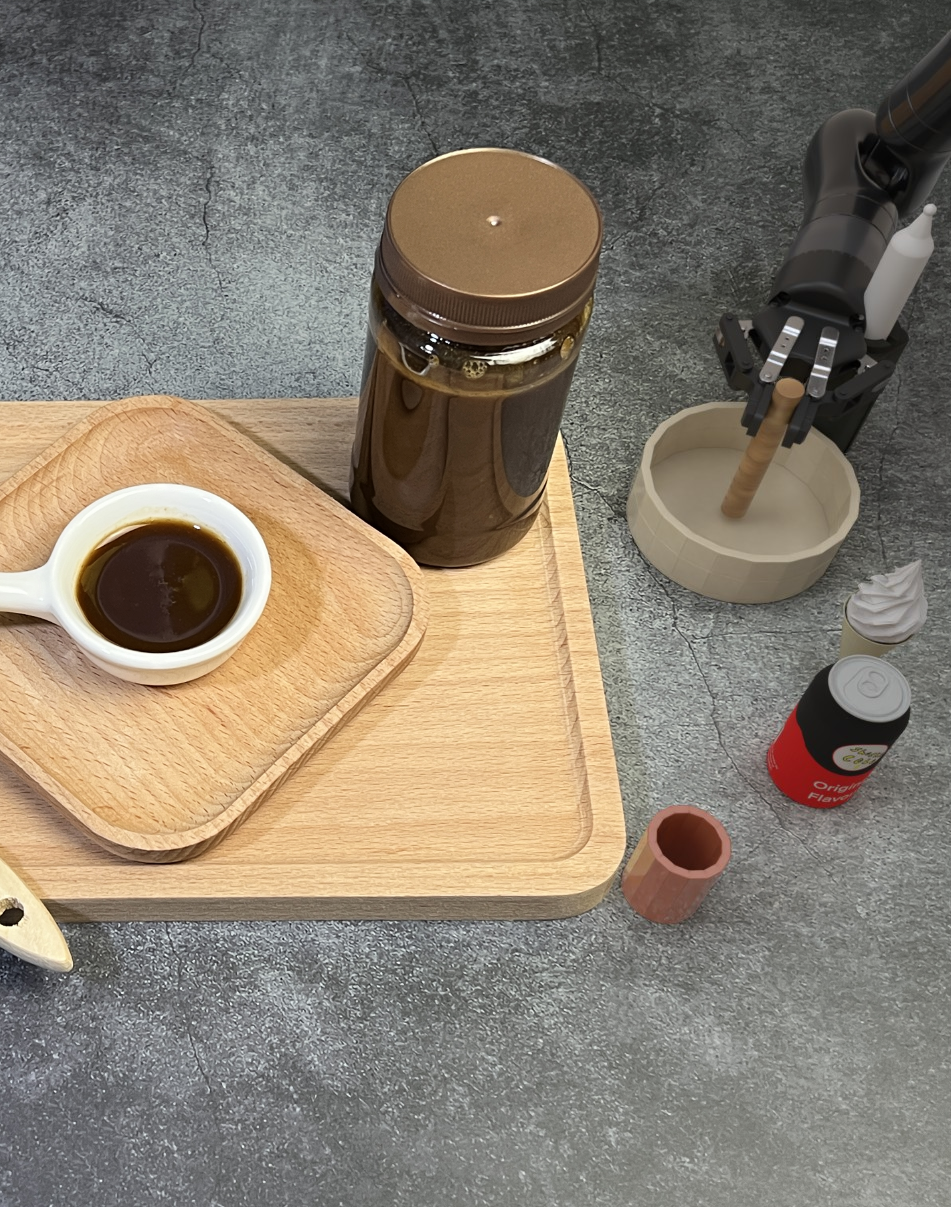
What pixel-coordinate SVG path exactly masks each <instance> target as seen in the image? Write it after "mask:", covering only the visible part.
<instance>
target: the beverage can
mask: <svg viewBox="0 0 951 1207" xmlns="http://www.w3.org/2000/svg"><path fill="white" fill-rule="evenodd" d="M911 703H912V689H911V686H910V684H909V682H908V680H907V678H906V677H905V676H904V674H903V673H902V672H901V671H900V670H899V669H898V668H897V667H896V666H894V665H893V664H891V663H889V662H888V661H886V660H884V659H882V658H880V657H878V658H877V657H873V656H869V655H851V656H847V657H845V658H842V659H841V660H839V661H838V660H837V662H833V663H831V664H828V665H827V666H825V667H823V668H822V669H820V670H819V671H818V672H817V673H816V674H815V675H814V677H813V679H812V681H811V682H810V683H809V685H808V687H807V688H806V690H805V691H804V692H803V693H802V696H801V697H800V699H799V700H798V702H797V703H796V705H795V706H794V708H793V710H792V711H791V713H790V714H789V716H788V717H787V719H785V720H786V721H785V722H784V724H783V725H782V727H781V728H780V730H779V731H778V733H777V734H776V736H775V737H774V739H773V741H772V742H771V743H770V745H769V747H768V750H767V754H766V766H767V771H768V773H769V776H770V778H771V780H772V782H773V783H774V784H775V785H776V787H777V788H778V790H780V791H781V792H782V793H783V794H784V795H786V796H787V797H788V798H790V799H791V800H793V801H795V802H797V803H799V804H802V805H804V806H807V807H812V808H818V809H828V808H834V807H838V806H840V805H843V804H844V803H846V802H848V801H849V800H850V799H852V797H853V796H854V795H855V794H856V792H857V791H858V790H859V789H860V788H861V786H862V785H863V784H864V782H865V781H866V780H867V779H868V777H869V776H870V775H871V773H872V772H873V771H874V770H875V768H877V766H878V764H879V763H880V762H881V761H882V759H883V758H884V757H885V756H886V754H887V753H888V752H889V751H890V749H891V748H892V747H893V745H894V744H895V742H896V741H897V740H898V739H899V738H900V737H901V735H902V734H903V733H904V732H905V730H906V729H907V727H908V726H909V722H910V718H911Z"/></svg>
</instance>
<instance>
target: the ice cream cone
mask: <svg viewBox="0 0 951 1207" xmlns="http://www.w3.org/2000/svg"><path fill="white" fill-rule="evenodd" d="M922 562H923V559H922V558H919V559H917V560H915V561H913V562H911V563H908V564H906V565H905V566H902V567H895V568H894V569H893V570H894V572H892V573H890V572H889V573H884V575H882V574H874V575H872V576H870V579H871V581H872V584H871V583H866V582H861V583H858V585H857V586H858V589H856V590H854V591H853V592H851V593H850V594H849V595H848V596H846V598H845V600H844V602H843V605H842V606H843V607H842V613H843V614H842V615H843V620H842V627H841V634H840V642H839V643H840V644H839V652H838V653H839V654H838V660H837V662H838V661H839V660H841V659H842V658H845V657H847V656H851V655H869V656H873V657H877V658H880V657H881V656H883V655H885V654H886V653H887V654H888V653H889V652H891V651H892V650H893V649H895V648H896V647H898V646H901V645H904V644H906V643H908V642H910V641H911V640H912V639H913V638H914V637H915V636H916V634H918V633H920V631H921V628H922V627H923V626H924V624H926V620H927V615H928V614H927V613H928V608H929V602H928V601H927V599H926V597H925V592H926V591H925V587H924V586H925V585H924V583H925V581H924V578H923V577H922V576H923V575H922V573H923V572H922Z"/></svg>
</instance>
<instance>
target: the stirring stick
mask: <svg viewBox="0 0 951 1207" xmlns="http://www.w3.org/2000/svg"><path fill="white" fill-rule="evenodd" d="M774 386H775V388H774V390H773V393H772V398H771V401H770V403H769V406H768V409H767V411H766V414H765V417H764V419H763V421H762V424H761V426H760V428H759V430H758V432H757V435H756V437H755V438H754V437H752V438H751V440H750V443H749V445H748V447H747V449H746V451H745V454H744V456H743V458H742V460H741V462H740V465H739V467H738V469H737V471H736V473H735V475H734V478H733V480H732V482H731V484H730V486H729V489H728V491H727V493H726V495H725V497H724V500H723V502H722V504H721V510H722V512H723V513H724V514H725V515H726V516H728V517H730V518H735V519H737V518H741V517H743V516H744V515H745V514H746V512H747V510H748V508H749V506H750V504H751V502H752V500H753V498H754V496H755V494H756V492H757V490H758V488H759V485H760V483H761V481H762V479H763V477H764V475H765V473H766V471H767V469H768V467H769V465H770V463H771V461H772V459H773V457H774V454H775V452H776V450H777V448H778V446H779V444H780V442H781V440H782V438H783V436H784V434H785V432H786V430H787V427H788V424H789V422H790V420H791V418H792V416H793V414H794V412H795V410H796V408H797V405H798V404H799V402H800V401H801V399H802V397H803V394H804V392H805V389H804V386H803V385H802V384H801V383H800V382H799V381H798V380H796V379H794V378H792V377H786V378H784V377H783V378H781V379H779V380H777V382H776V383H775V385H774Z"/></svg>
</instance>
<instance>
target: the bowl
mask: <svg viewBox="0 0 951 1207" xmlns="http://www.w3.org/2000/svg"><path fill="white" fill-rule="evenodd" d="M747 403H748V401H711V402H707V403H703V404H698V405H695V406H691V407H686V408H683V409H681V410H680V411H678V412H676V413H675V414H674V415H672V416H671V417H669V418H667V419H666V420H663V421H662V422H661V423H659V424H658V426H657V427H656V429H655V430H654V431H653V432H652V433H651V435H650V436H649V437H648V439H647V441H645V445H643V446H644V447H643V449H642V452H641V454H640V457H639V459H638V460H639V461H638V463H637V465H636V468H635V472H634V474H633V477H632V479H631V482H630V486H629V490H628V494H627V497H626V503H625V504H626V505H625V507H626V508H625V514H626V522H627V526H628V528H629V532H630V534H631V537H632V539H633V541H634V542H635V544H636V546H637V548H638V549H639V551H640V552H641V553H642V555H643V557H645V558H646V560H648V562H649V563H650V564H651V565H652V566H653V567H654V568H656V569H657V571H659V572H660V573H661V574H662V575H664V576H666V577H667V579H669V580H671V581H672V582H674V583H676V584H677V585H679V586H681V587H683V588H684V589H687V590H689V591H691V592H693V593H695V594H698V595H701V596H703V597H706V598H710V599H713V600H718V601H722V602H727V603H734V604H745V605H746V604H747V605H749V604H751V605H755V604H756V605H757V604H768V603H774V602H779V601H782V600H785V599H789V598H792V597H794V596H796V595H798V594H801V593H803V592H804V591H806V590H808V589H809V588H810V587H812V586H813V585H815V583H816V582H818V581H819V580H820V579H821V578H822V577H823V576H824V575H825V572H826V571H827V570H828V569H829V566H830V565H831V564H832V561H833V560H834V559H835V557H836V555H837V554H838V552H839V550H840V548H841V547H842V545H843V544H844V542H845V540H846V538H847V537H848V535H849V534H850V531H851V530H852V528H853V526H854V525H855V523H856V521H857V519H858V518H859V512H860V511H859V510H860V502H861V488H860V485H859V481H858V479H857V476H856V473H855V469H854V467H853V465H852V464H851V462H850V461H849V460H848V459H847V458H846V456H845V454H843V453H842V452H841V451H840V450H839V448H838V447H837V446H836V444H835V443H834V442H833V441H831V440H830V439H829V438H827V437H826V436H825V435H823V434H822V433H821V432H820V431H818V430H817V429H816V428H814V427H813V426H811V429H810V431H809V433H808V435H807V437H806V439H805V441H804V442H803V443H801V444H800V445H799V444H795V443H793V445H792V447H791V449H788V448H785V447H782V446H781V444H782V441H783V438H784V436H783V438H782V440H781V442H780V444H779V446H778V448H777V450H776V452H775V454H774V457H773V459H772V461H771V463H770V465H769V467H768V469H767V471H766V473H765V475H764V477H763V479H762V481H761V483H760V485H759V488H758V490H757V492H756V494H755V496H754V498H753V500H752V502H751V504H750V506H749V508H748V510H747V512H746V514H745V515H744V516H743V517H741V518H737V519H735V518H730V517H728V516H726V515H725V514H724V513H723V512H722V510H721V504H722V502H723V500H724V497H725V495H726V493H727V491H728V489H729V486H730V484H731V482H732V480H733V478H734V475H735V473H736V471H737V469H738V467H739V465H740V462H741V460H742V458H743V456H744V454H745V451H746V449H747V447H748V445H749V443H750V440H751V438H752V437H751V436H748V435H746V432H747V430H748V428H746V427H743V426H741V418H742V415H743V413H744V410H745V408H746V405H747ZM784 435H785V434H784Z"/></svg>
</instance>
